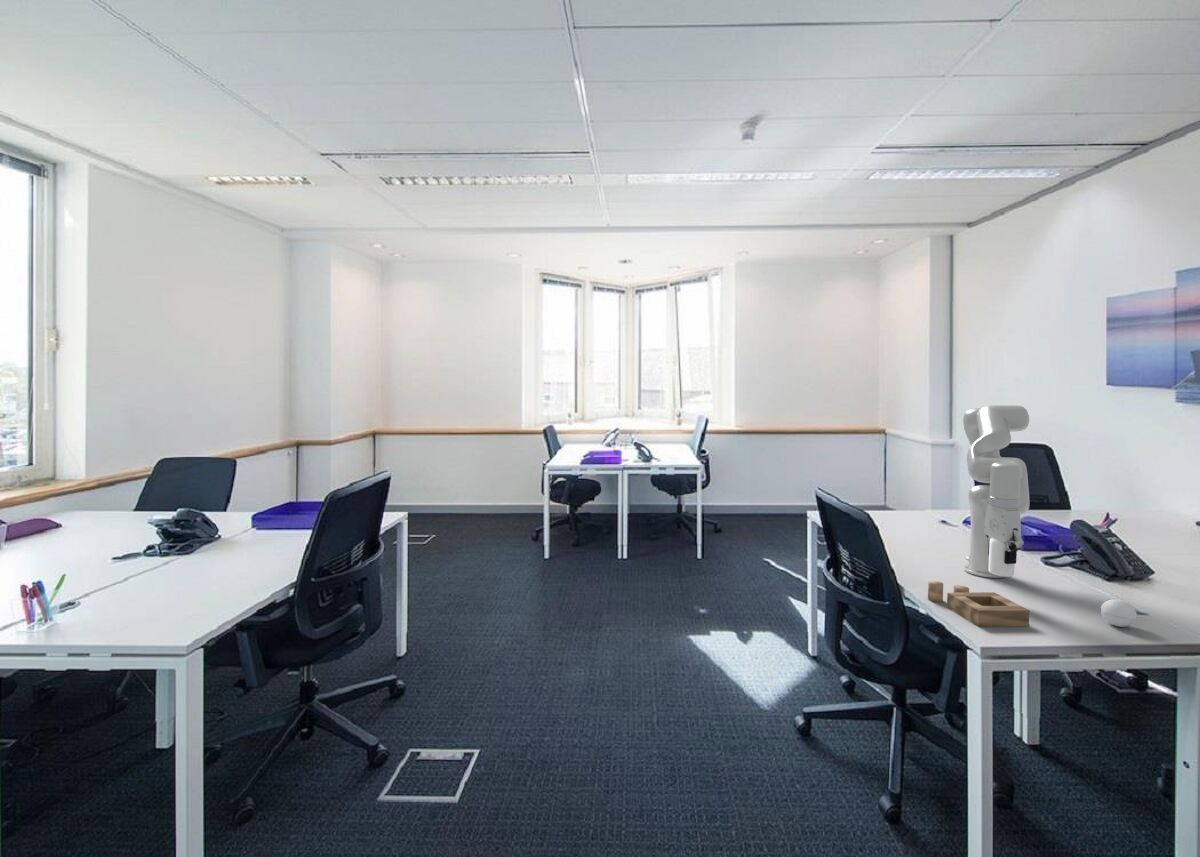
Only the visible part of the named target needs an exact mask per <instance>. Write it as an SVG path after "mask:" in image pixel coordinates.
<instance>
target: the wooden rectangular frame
mask: <svg viewBox="0 0 1200 857" xmlns="http://www.w3.org/2000/svg"><path fill="white" fill-rule="evenodd" d="M946 600H947V601H946V608H948V609H949V610H951V611H952V612H954V613H956V614H958V616H961V617H962V618H964V619H965V620H967V621H969V622H970V623H972V624H973V625H975V626H977V627H1029V626H1030V612H1031V611H1030V610H1029V609H1028V608H1026V607H1024V606H1022V605H1020V604H1018V603H1016V602H1014V601H1012V600H1010V599H1008V598H1007V597H1004V596H1002V595H1000V594H998V593H997V592H990V591H988V592H986V591H985V592H980V591H979V592H969V593H954V592H947V598H946Z"/></svg>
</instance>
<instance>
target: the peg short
mask: <svg viewBox="0 0 1200 857" xmlns="http://www.w3.org/2000/svg"><path fill="white" fill-rule="evenodd" d="M953 593H970V587H968V586H965V585H959V584H958V585H953Z"/></svg>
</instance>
